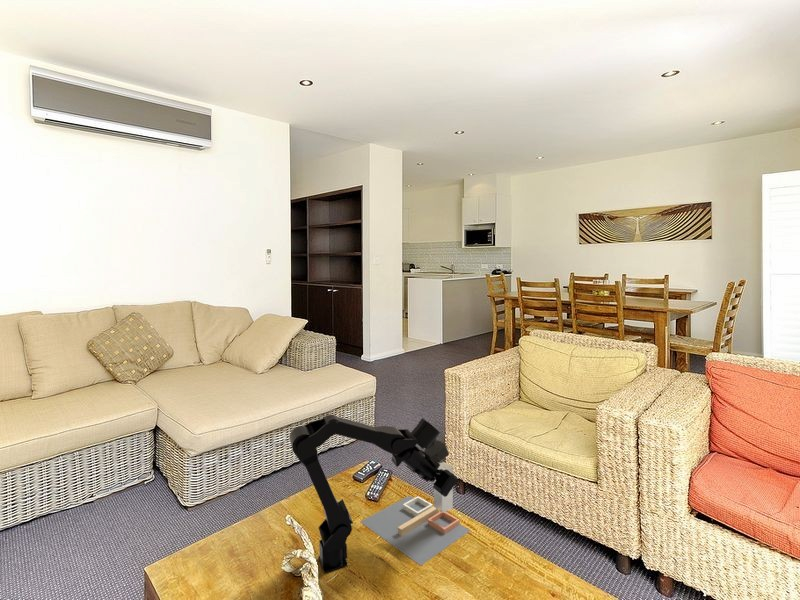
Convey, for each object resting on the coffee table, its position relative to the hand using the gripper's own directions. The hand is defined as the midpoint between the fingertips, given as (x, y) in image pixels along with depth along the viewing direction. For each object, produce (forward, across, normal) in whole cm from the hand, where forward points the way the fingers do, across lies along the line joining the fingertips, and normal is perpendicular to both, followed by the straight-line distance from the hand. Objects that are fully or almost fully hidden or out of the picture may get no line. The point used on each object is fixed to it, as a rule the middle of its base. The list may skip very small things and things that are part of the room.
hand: (446, 485), depth 131 cm
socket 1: (+6, +11, +11) cm, 16 cm away
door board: (+3, +4, +16) cm, 17 cm away
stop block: (+4, 0, +6) cm, 7 cm away
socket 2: (+8, 0, +9) cm, 12 cm away
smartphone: (-2, +24, +22) cm, 33 cm away
